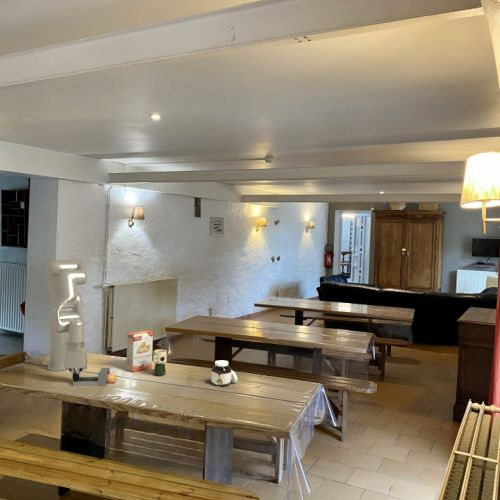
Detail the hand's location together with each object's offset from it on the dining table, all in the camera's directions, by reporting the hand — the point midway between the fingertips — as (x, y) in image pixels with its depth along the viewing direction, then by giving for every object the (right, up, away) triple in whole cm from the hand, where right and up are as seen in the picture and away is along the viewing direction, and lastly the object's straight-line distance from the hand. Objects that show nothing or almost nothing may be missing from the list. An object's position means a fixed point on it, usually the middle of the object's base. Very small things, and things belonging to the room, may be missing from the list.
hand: (75, 381), depth 245 cm
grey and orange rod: (+11, -1, +1) cm, 11 cm away
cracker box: (+26, -1, +27) cm, 38 cm away
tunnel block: (+8, -1, +1) cm, 8 cm away
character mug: (+39, -2, +18) cm, 43 cm away
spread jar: (+75, -3, +4) cm, 75 cm away
